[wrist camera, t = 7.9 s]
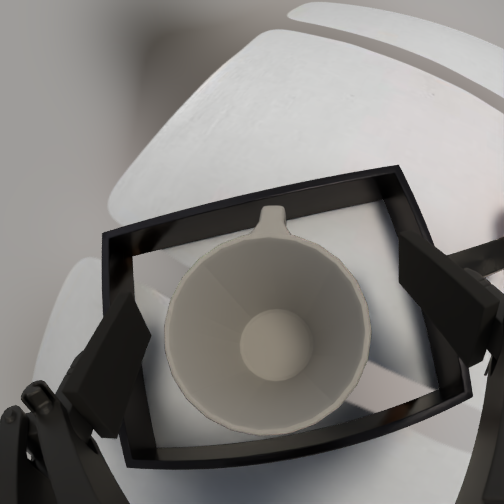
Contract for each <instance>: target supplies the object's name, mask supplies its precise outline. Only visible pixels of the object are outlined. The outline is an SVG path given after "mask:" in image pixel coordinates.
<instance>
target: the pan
mask: <svg viewBox="0 0 504 504" xmlns="http://www.w3.org/2000/svg"><path fill="white" fill-rule="evenodd" d="M378 200H383V201H384V203H385V205H386V208H387V210H388V213H389V215H390V218H391V220H392V223H393V225H394V228H395V231H396V233H397V236H398V233H399V232H403V231H408V230H413V231H414V232H416V233H417V234H418V235H420V236H421V237H422V238H424V239H425V240H427V241H428V242H429V243H431V244H432V245H433V246H434V243H433V240H432V238H431V235H430V233H429V230H428V228H427V225H426V223H425V220H424V218H423V216H422V213H421V211H420V209H419V206H418V204H417V202H416V200H415V197H414V195H413V193H412V191H411V189H410V187H409V184H408V182H407V180H406V178H405V176H404V174H403V172H402V170H401V168H400V166H399V165H394V166H388V167H381V168H375V169H369V170H364V171H358V172H352V173H347V174H341V175H336V176H331V177H325V178H320V179H315V180H310V181H305V182H300V183H296V184H291V185H286V186H281V187H277V188H272V189H268V190H263V191H259V192H254V193H250V194H246V195H241V196H237V197H233V198H229V199H224V200H220V201H216V202H212V203H208V204H204V205H200V206H196V207H193V208H189V209H185V210H181V211H177V212H174V213H170V214H166V215H163V216H159V217H155V218H152V219H148V220H145V221H141V222H138V223H134V224H131V225H127V226H124V227H120V228H118V229H114V230H110V231H107V232H104V233H102V300H103V317H104V316H105V314H106V312H107V311H108V309H109V308H110V306H111V304H112V303H113V301H114V300H115V298H116V296H117V295H118V294H122V293H127V292H131V293H132V296H133V298H134V300H135V296H134V281H133V261H132V260H133V259H132V256H136V255H140V254H144V253H148V252H152V251H156V250H160V249H164V248H168V247H172V246H176V245H180V244H184V243H188V242H192V241H197V240H201V239H205V238H209V237H213V236H218V235H222V234H226V233H231V232H235V231H239V230H244V229H248V228H252V227H256V225H257V224H258V223H259V218H260V213H261V210H262V208H263V207H264V206H282V207H284V209H285V213H286V220H288V219H292V218H297V217H302V216H306V215H311V214H315V213H320V212H325V211H329V210H334V209H339V208H344V207H348V206H353V205H358V204H363V203H368V202H373V201H378ZM447 256H448V257H449V258H450V259H451V260H453V261H454V262H455V263H456V264H458V265H459V266H460V267H461V268H463V269H464V268H469V269H471V270H474V271H476V272H478V273H479V274H480V275H482V276H483V277H484V278H485V277H487V276H490V275H492V274H495V273H497V272H499V271H502V270H504V237H503V238H500V239H497V240H494V241H491V242H488V243H485V244H482V245H479V246H476V247H472V248H469V249H466V250H463V251H460V252H457V253H453V254H450V255H447ZM421 310H422V309H421ZM422 314H423V318H424V322H425V326H426V329H427V334H428V338H429V342H430V346H431V351H432V355H433V360H434V365H435V370H436V375H437V380H438V386H439V389H438V390H436V391H433V392H431V393H429V394H426V395H424V396H422V397H419V398H416V399H414V400H411V401H409V402H406V403H403V404H401V405H398V406H395V407H392V408H389V409H387V410H384V411H381V412H378V413H374V414H371V415H368V416H365V417H362V418H358V419H355V420H351V421H348V422H344V423H340V424H337V425H333V426H329V427H325V428H320V429H316V430H312V431H307V432H303V433H298V434H293V435H287V436H282V437H276V438H270V439H264V440H257V441H250V442H242V443H233V444H223V445H212V446H197V447H171V448H157V447H156V443H155V438H154V433H153V429H152V424H151V419H150V413H149V408H148V402H147V397H146V391H145V385H144V378H143V371H142V364H141V366H140V369H139V372H138V375H137V378H136V380H135V383H134V386H133V389H132V392H131V395H130V398H129V401H128V405H127V408H126V411H125V414H124V417H123V420H122V424H121V427H120V430H119V437H120V442H121V446H122V450H123V455H124V459H125V463H126V467H127V468H140V469H165V470H189V469H214V468H228V467H240V466H249V465H257V464H265V463H272V462H278V461H284V460H290V459H295V458H301V457H306V456H310V455H315V454H319V453H324V452H328V451H332V450H336V449H340V448H344V447H347V446H351V445H354V444H358V443H361V442H365V441H368V440H371V439H374V438H377V437H380V436H383V435H386V434H389V433H392V432H395V431H397V430H400V429H403V428H405V427H408V426H411V425H413V424H415V423H418V422H420V421H423V420H425V419H428V418H430V417H432V416H434V415H437V414H439V413H441V412H443V411H445V410H448V409H450V408H452V407H454V406H456V405H458V404H460V403H462V402H464V401H466V400H468V399H470V398H472V397H473V393H472V386H471V380H470V374H469V368H467V367H466V365H465V364H464V363H463V361H462V360H461V359H460V357H459V356H458V355H457V353H456V352H455V351H454V349H453V348H452V347H451V345H450V344H449V343H448V341H447V340H446V339H445V338H444V336H443V335H442V334H441V333H440V331H439V330H438V329H437V327H436V326H435V325H434V324H433V322H432V321H431V320H430V319H429V318H428V316H427V315H426V314H425V313H424V311H423V310H422Z"/></svg>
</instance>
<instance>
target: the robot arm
mask: <svg viewBox="0 0 504 504" xmlns="http://www.w3.org/2000/svg"><path fill="white" fill-rule="evenodd" d="M398 240H399V283H400V284H401V286H402V287H403V288H404V289H405V290H406V291H407V292H408V294H409V295H410V296H411V297H412V298H413V300H414V301H415V302H416V303H417V304H418V305H419V307H420V308H421V309H422V310H423V311H424V313H425V314H426V315H427V316H428V318H429V319H430V320H431V321H432V322H433V324H434V325H435V326H436V327H437V329H438V330H439V331H440V333H441V334H442V335H443V336H444V338H445V339H446V340H447V341H448V343H449V344H450V345H451V347H452V348H453V349H454V351H455V352H456V353H457V355H458V356H459V357H460V359H461V360H462V361H463V363H464V364H465V365H466V367H467V368H469V367H471V366H473V365H475V364H477V363H479V362H481V361H483V358H484V355H485V352H486V349H487V350H488V351H489V352H490V353H491V358H490V361H489V363H488V366H487V369H486V371H485V374H484V375H485V376H487V373H488V377H487V385H486V391H485V398H484V404H483V409H482V414H481V419H480V424H479V429H478V433H477V437H476V441H475V445H474V448H473V452H472V456H471V459H470V462H469V466H468V469H467V472H466V475H465V478H464V481H463V484H462V487H461V490H460V492H459V495H458V498H457V500H456V503H455V504H504V294H503V293H502V292H501V291H500V290H498V289H497V288H496V287H495V286H494V285H493V284H491V283H490V282H489V281H488V280H486V279H485V278H484V277H483V276H482V275H480V274H479V273H478V272H476V271H474V270H471V269H469V268H464V269H463V268H461V267H460V266H459V265H458V264H456V263H455V262H454V261H453V260H451V259H450V258H449V257H448V256H446V255H445V254H444V253H442V252H441V251H440V250H439V249H437V248H436V247H435V246H433V245H432V244H431V243H429V242H428V241H427V240H425V239H424V238H422V237H421V236H420V235H418V234H417V233H416V232H414V231H413V230H408V231H403V232H399V233H398ZM150 338H151V334H150V332H149V330H148V328H147V326H146V324H145V321H144V319H143V317H142V315H141V313H140V311H139V309H138V307H137V304H136V302H135V300H134V298H133V296H132V293H131V292H127V293H122V294H118V295H117V296H116V298H115V300H114V301H113V303H112V304H111V306H110V308H109V309H108V311H107V312H106V314H105V316H104V317H103V319H102V321H101V322H100V324H99V326H98V327H97V329H96V331H95V332H94V334H93V336H92V337H91V339H90V341H89V342H88V344H87V346H86V348H85V349H84V351H82V352H81V353H80V354H79V355H78V356H77V357H76V358H75V359H74V361H73V363H72V364H71V366H70V368H69V370H68V371H67V373H66V374H67V375H65V377H64V379H63V381H62V382H61V384H60V386H59V388H58V390H57V392H56V394H54V393H53V392H52V390H51V389H50V388H49V386H48V385H47V384H46V382H44V381H42V380H39V381H35V382H33V383H31V384H30V385H29V386H27V387H26V389H25V390H24V391H23V393H22V395H21V400H22V402H23V403H24V404H25V405H26V406H27V407H28V409H29V410H30V411H31V412H30V413H26V414H25V413H24V412H23V410H22V409H21V408H20V407H19V406H16V405H15V406H11V407H9V408H7V410H5V411H4V413H3V415H2V416H1V419H0V504H130V503H129V501H128V500H127V498H126V497H125V495H124V493H123V492H122V490H121V488H120V487H119V485H118V483H117V481H116V480H115V478H114V476H113V474H112V472H111V471H110V469H109V467H108V465H107V463H106V461H105V459H104V457H103V455H102V453H101V451H100V449H99V447H98V445H97V443H96V441H95V440H94V439H93V437H92V436H91V434H92V431H93V429H94V430H95V431H96V432H97V433H98V435H99V436H100V437H101V438H114V439H117V437H118V433H119V430H120V427H121V424H122V420H123V417H124V414H125V411H126V408H127V405H128V401H129V398H130V395H131V392H132V389H133V386H134V383H135V380H136V378H137V375H138V372H139V369H140V366H141V363H142V360H143V357H144V355H145V352H146V349H147V346H148V344H149V341H150ZM26 452H28V453H29V454H30V455H31V460H29V459H28V458H27V454H26Z"/></svg>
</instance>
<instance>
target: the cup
mask: <svg viewBox="0 0 504 504" xmlns="http://www.w3.org/2000/svg"><path fill="white" fill-rule="evenodd" d="M164 332H165V353H166V356H167V360H168V363H169V366H170V370H171V373H172V376H173V378H174V380H175V381H176V383H177V385H178V386H179V388H180V389H181V391H182V393H183V394H184V396H185V397H186V399H187V400H188V401H189V402H190V403H191V404H192V405H194V406H195V407H196V408H197V409H198V410H199V411H200V412H201V413H202V414H203V415H204V416H206V417H207V418H209V419H210V420H212V421H214V422H216V423H218V424H220V425H222V426H224V427H226V428H228V429H230V430H233V431H237V432H242V433H247V434H252V435H257V436H266V435H281V434H289V433H292V432H295V431H298V430H301V429H303V428H306V427H309V426H312V425H314V424H316V423H318V422H319V421H321V420H322V419H323V418H325V417H326V416H328V415H329V414H331V413H332V412H333V411H335V410H336V409H337V408H339V407H340V405H341V404H342V403H343V402H344V401H345V399H346V398H347V397H348V395H349V394H350V393H351V392H352V391H353V389H354V388H355V387H356V386H357V384H358V381H359V379H360V377H361V374H362V372H363V370H364V367H365V365H366V363H367V360H368V356H369V348H370V341H371V332H372V331H371V324H370V317H369V311H368V305H367V302H366V300H365V298H364V295H363V293H362V291H361V289H360V286H359V284H358V282H357V280H356V279H355V278H354V276H353V275H352V274H351V273H350V271H349V270H348V269H347V268H346V267H345V265H344V264H343V263H342V262H341V261H340V260H339V259H338V258H337V257H335V256H334V255H332V254H331V253H330V252H328V251H327V250H326V249H324V248H323V247H321V246H320V245H318V244H316V243H313V242H311V241H308V240H305V239H303V238H300V237H298V236H295V235H291V234H290V232H289V231H288V229H287V227H286V213H285V209H284V207H282V206H264V207H263V208H262V210H261V213H260V218H259V223H258V224H257V225H256V227H255V228H254V230H253V231H252V232H251V233H250V234H249V235H243V236H241V237H238V238H236V239H233V240H230V241H228V242H225V243H222V244H220V245H218V246H217V247H215V248H214V249H212V250H211V251H210V252H208V253H207V254H205V255H204V256H202V257H201V258H199V259H198V260H197V262H196V263H195V264H194V265H193V266H192V267H191V268H190V269H189V271H188V272H187V273H186V274H185V275H184V277H182V279H181V281H180V283H179V285H178V286H177V288H176V290H175V292H174V294H173V296H172V298H171V300H170V303H169V308H168V312H167V316H166V321H165V325H164Z"/></svg>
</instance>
